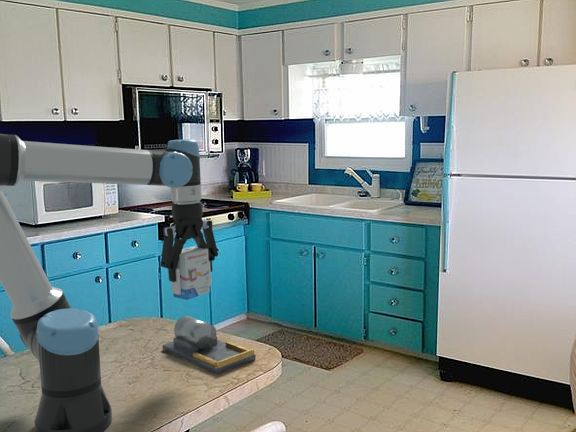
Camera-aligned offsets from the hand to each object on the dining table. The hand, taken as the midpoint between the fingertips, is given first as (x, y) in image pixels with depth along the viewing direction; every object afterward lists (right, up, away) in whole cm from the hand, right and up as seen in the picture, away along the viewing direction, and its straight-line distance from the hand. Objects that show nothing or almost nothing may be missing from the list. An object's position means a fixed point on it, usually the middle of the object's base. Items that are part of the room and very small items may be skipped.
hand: (192, 289), depth 152 cm
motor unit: (+3, -19, +10) cm, 22 cm away
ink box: (0, -2, 0) cm, 2 cm away
